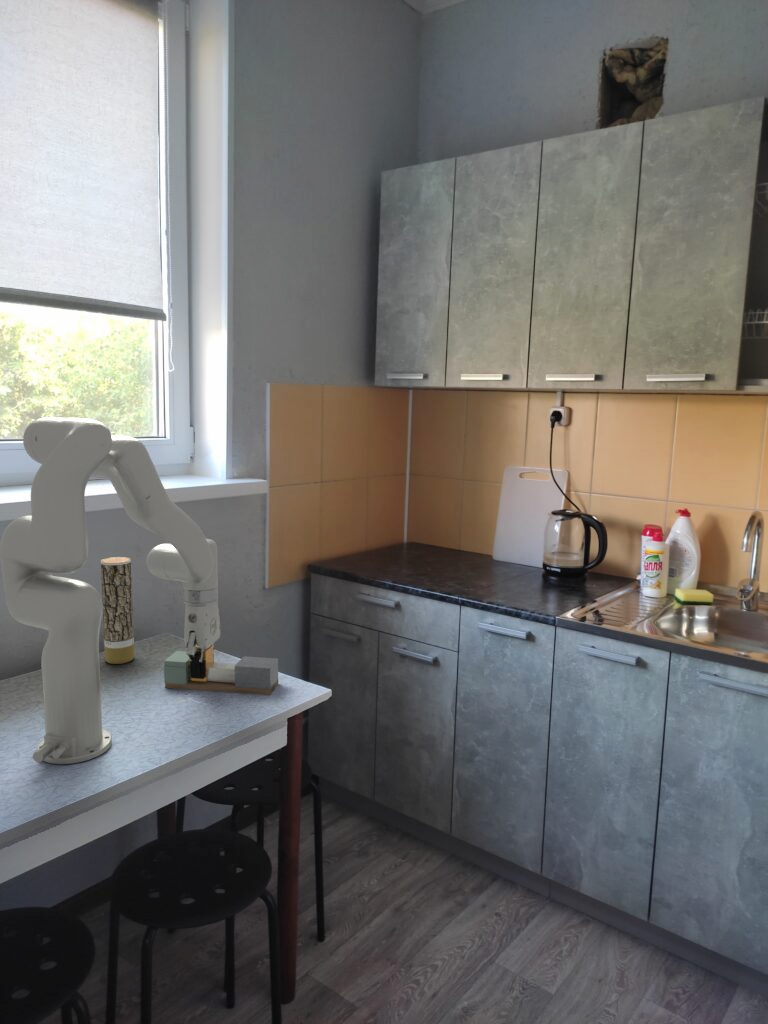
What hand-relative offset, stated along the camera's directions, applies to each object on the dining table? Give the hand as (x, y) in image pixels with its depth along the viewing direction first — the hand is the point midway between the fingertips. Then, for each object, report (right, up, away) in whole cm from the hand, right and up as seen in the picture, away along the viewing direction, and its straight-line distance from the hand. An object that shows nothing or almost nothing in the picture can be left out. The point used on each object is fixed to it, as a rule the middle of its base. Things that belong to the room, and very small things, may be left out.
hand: (202, 672), depth 164 cm
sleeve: (+12, -2, -1) cm, 13 cm away
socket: (-5, -1, +1) cm, 5 cm away
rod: (+2, -1, 0) cm, 2 cm away
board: (+5, -3, 0) cm, 5 cm away
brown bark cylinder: (-24, 0, +14) cm, 28 cm away
